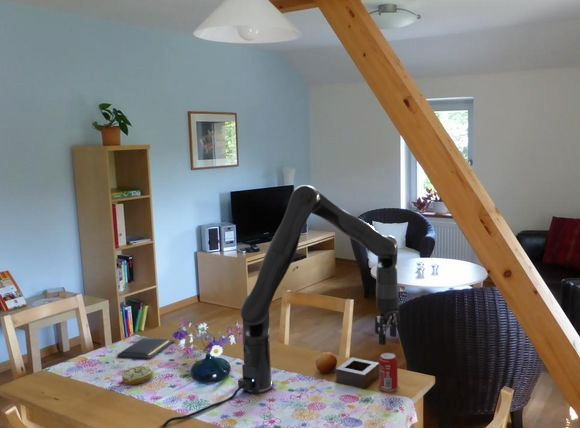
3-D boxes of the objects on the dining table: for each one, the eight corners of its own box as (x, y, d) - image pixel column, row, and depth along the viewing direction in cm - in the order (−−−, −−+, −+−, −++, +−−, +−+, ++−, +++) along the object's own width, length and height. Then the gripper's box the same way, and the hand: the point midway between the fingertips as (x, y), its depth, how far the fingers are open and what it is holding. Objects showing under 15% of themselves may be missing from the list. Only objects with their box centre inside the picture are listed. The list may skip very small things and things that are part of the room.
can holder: (364, 388, 197) (364, 375, 197) (336, 382, 203) (335, 368, 202) (379, 375, 207) (379, 362, 207) (352, 370, 213) (351, 357, 212)
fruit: (341, 371, 209) (330, 353, 208) (323, 382, 209) (312, 364, 208) (342, 362, 217) (331, 345, 216) (325, 372, 217) (313, 355, 216)
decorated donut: (117, 380, 209) (116, 370, 208) (145, 370, 216) (144, 361, 216) (129, 388, 201) (128, 378, 201) (158, 378, 209) (157, 369, 208)
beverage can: (400, 386, 199) (399, 353, 197) (393, 394, 193) (393, 360, 191) (383, 383, 201) (382, 351, 199) (376, 390, 196) (376, 357, 194)
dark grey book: (143, 335, 249) (174, 337, 245) (143, 339, 249) (175, 341, 246) (114, 352, 230) (148, 355, 226) (115, 357, 230) (148, 360, 226)
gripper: (386, 288, 200) (387, 332, 203) (367, 298, 188) (368, 345, 190) (405, 290, 197) (406, 335, 199) (388, 301, 184) (388, 349, 187)
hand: (387, 340), depth 195 cm, fingers open, 8 cm apart
